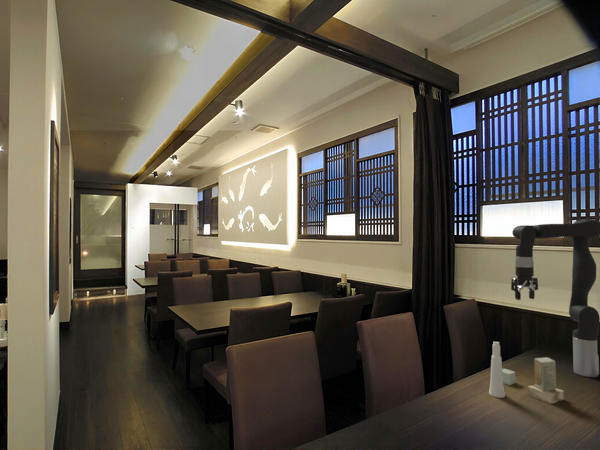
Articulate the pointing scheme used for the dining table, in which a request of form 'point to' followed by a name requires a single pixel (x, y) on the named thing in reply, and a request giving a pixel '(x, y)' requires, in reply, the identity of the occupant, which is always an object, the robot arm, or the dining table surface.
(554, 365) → the skincare box
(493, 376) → the cosmetic bottle
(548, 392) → the maple block
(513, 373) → the greygreen block
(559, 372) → the dining table surface
